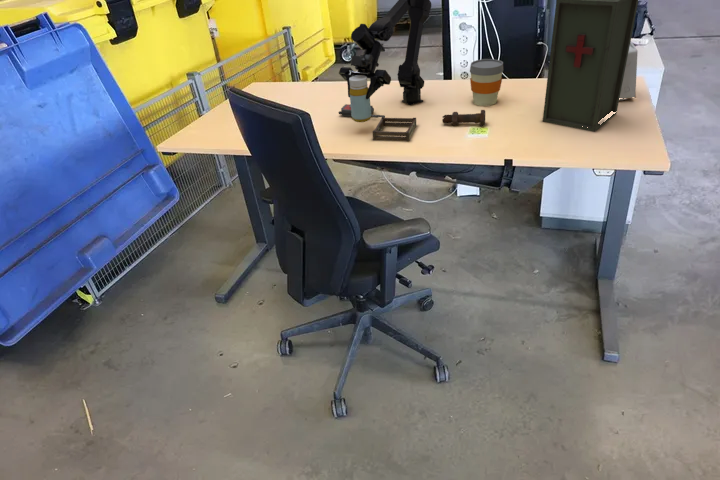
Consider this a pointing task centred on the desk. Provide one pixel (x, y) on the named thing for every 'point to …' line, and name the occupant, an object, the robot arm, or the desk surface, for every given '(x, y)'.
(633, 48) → the electrical switch box
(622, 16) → the first aid box
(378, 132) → the crate
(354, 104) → the bottle
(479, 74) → the reusable coffee cup
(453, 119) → the bolt
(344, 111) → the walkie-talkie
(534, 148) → the desk surface
